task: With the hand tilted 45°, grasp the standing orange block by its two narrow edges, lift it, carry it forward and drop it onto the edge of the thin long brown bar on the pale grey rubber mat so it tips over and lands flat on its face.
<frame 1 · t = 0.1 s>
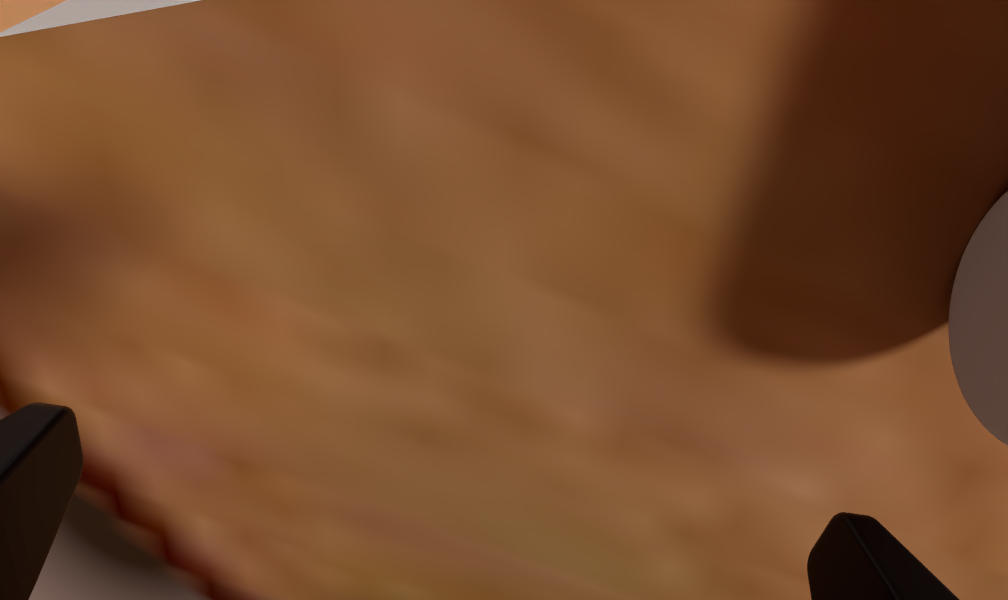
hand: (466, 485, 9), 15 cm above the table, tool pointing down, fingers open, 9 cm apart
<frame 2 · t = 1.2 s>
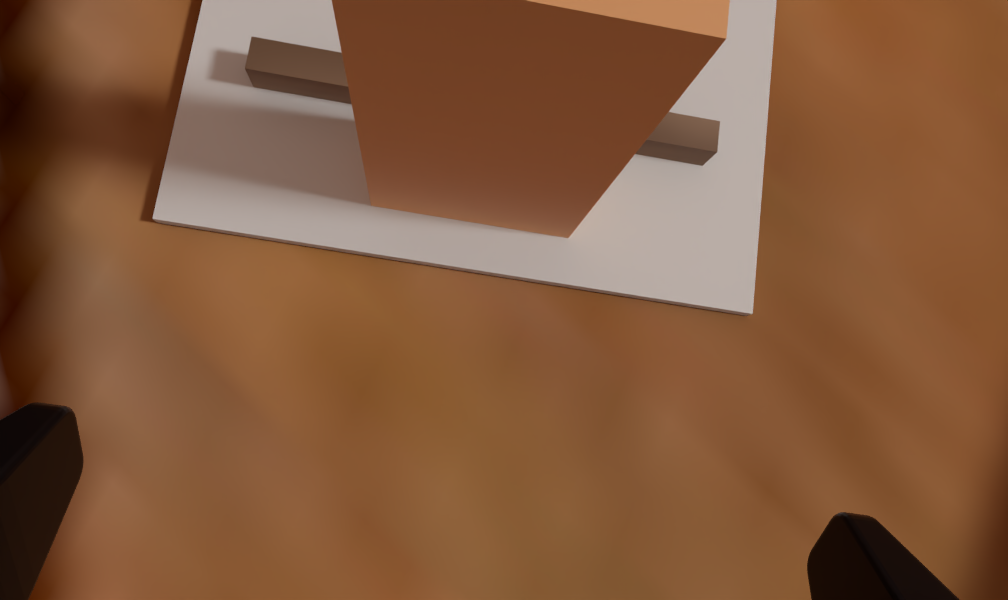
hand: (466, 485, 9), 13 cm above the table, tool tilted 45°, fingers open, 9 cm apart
orange block: (477, 181, 23), resting on mat
long brown bar: (486, 112, 24), resting on mat
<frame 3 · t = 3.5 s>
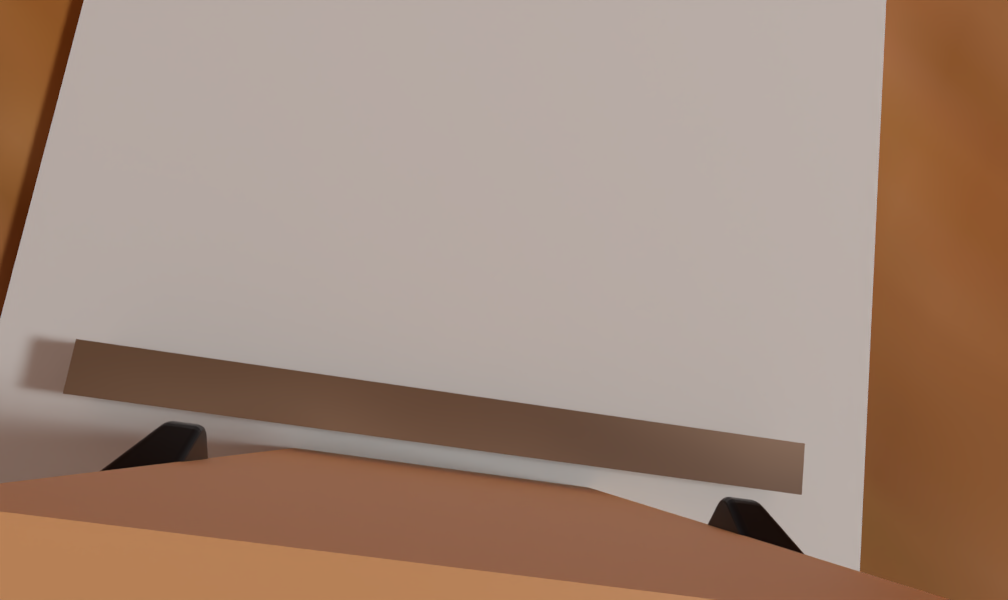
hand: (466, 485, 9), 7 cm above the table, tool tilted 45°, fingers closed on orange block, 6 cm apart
orange block: (434, 534, 15), resting on mat, touching gripper
mat: (494, 110, 17), on the table
long brown bar: (449, 420, 16), resting on mat
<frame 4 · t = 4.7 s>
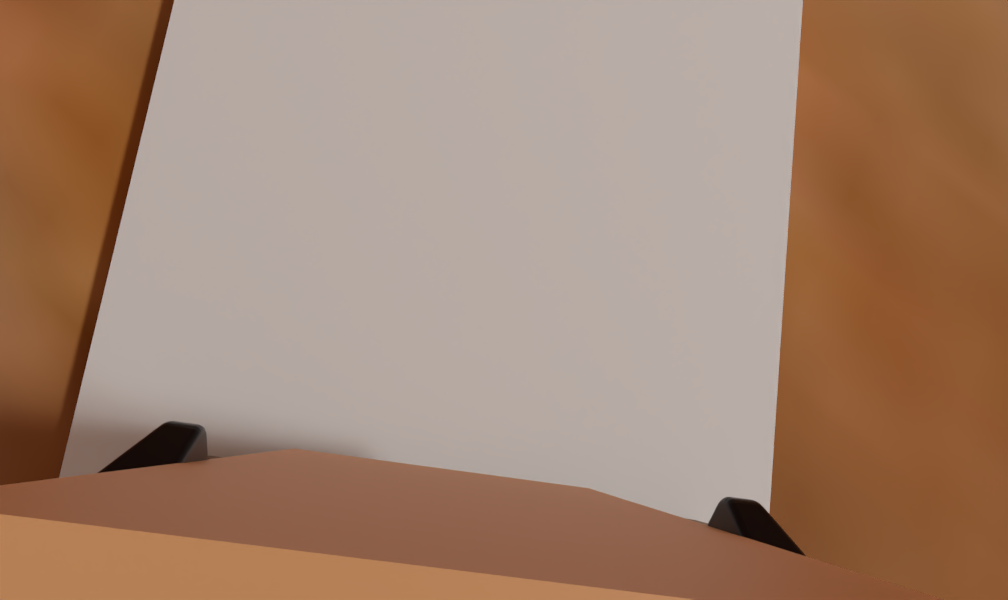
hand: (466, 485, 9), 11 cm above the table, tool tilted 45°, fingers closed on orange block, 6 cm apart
orange block: (434, 534, 15), point 5 cm above the table, touching gripper
mat: (468, 244, 21), on the table
when the fingers open (9 cm above the table, at t = 5.8 s): orange block stays where it is, resting on long brown bar.
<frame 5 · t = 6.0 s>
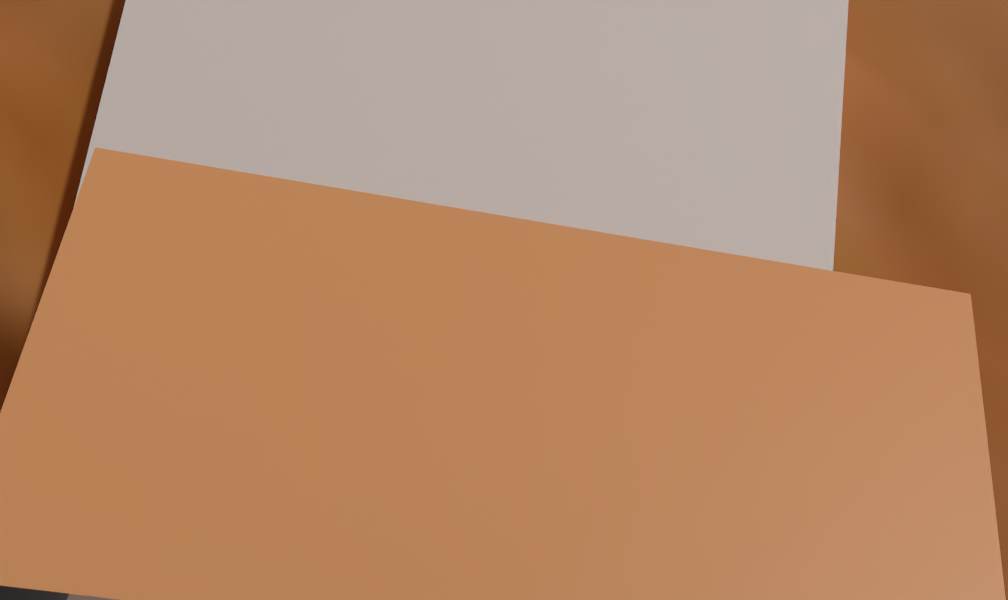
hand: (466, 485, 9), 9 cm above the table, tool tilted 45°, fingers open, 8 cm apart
orange block: (434, 532, 16), point 2 cm above the table, tilted 11°, touching long brown bar
mat: (469, 262, 18), on the table
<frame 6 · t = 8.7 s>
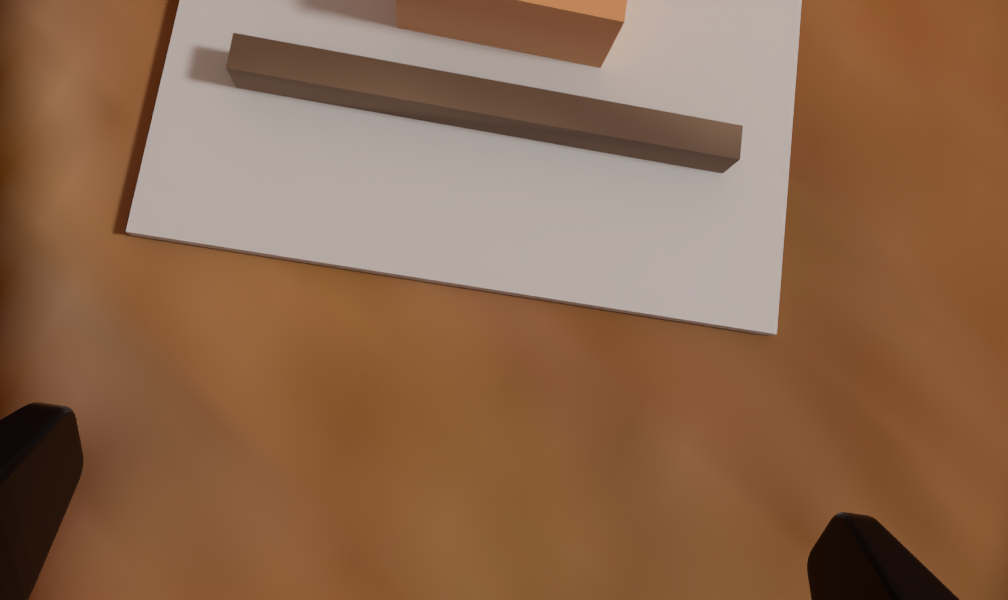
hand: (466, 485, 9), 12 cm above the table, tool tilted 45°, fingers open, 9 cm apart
orange block: (505, 25, 21), point 2 cm above the table, tilted 90°, touching mat
long brown bar: (489, 115, 22), resting on mat
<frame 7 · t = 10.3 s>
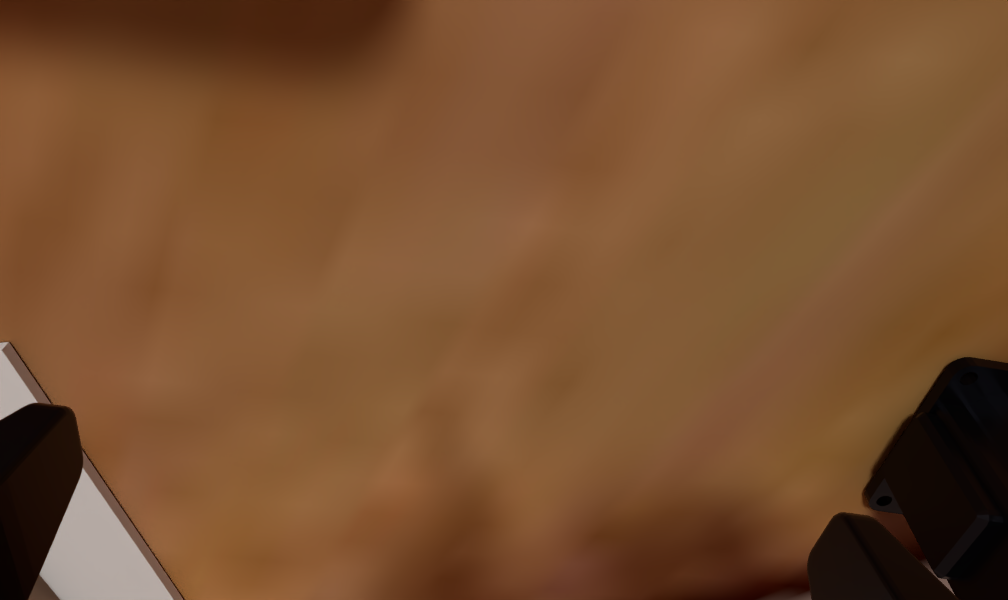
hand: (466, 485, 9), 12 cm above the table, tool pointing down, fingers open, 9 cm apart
long brown bar: (8, 554, 28), resting on mat
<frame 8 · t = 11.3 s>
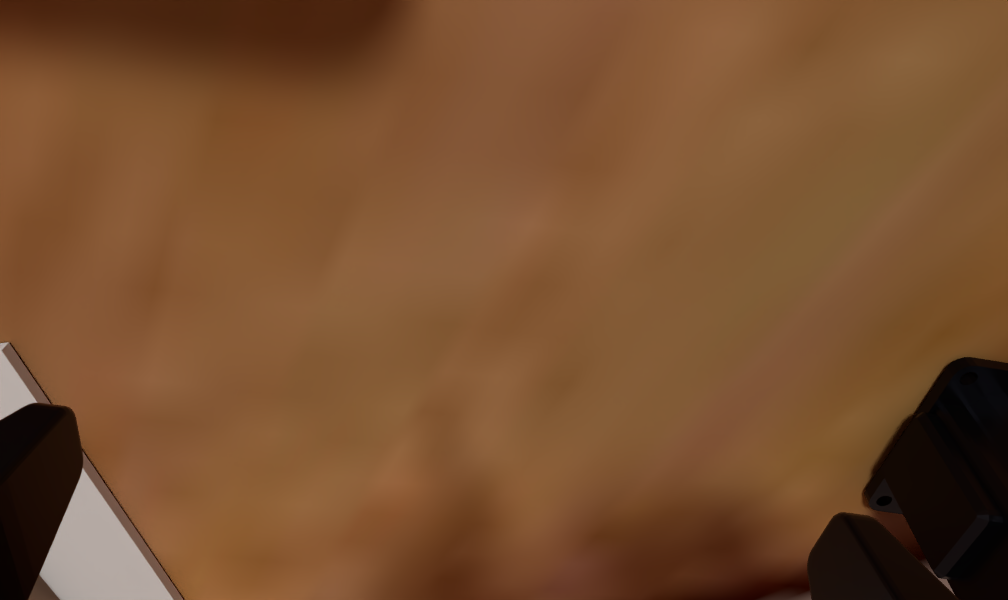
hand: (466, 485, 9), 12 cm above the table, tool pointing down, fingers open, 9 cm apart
long brown bar: (8, 554, 28), resting on mat
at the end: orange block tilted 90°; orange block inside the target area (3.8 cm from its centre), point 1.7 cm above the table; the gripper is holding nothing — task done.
